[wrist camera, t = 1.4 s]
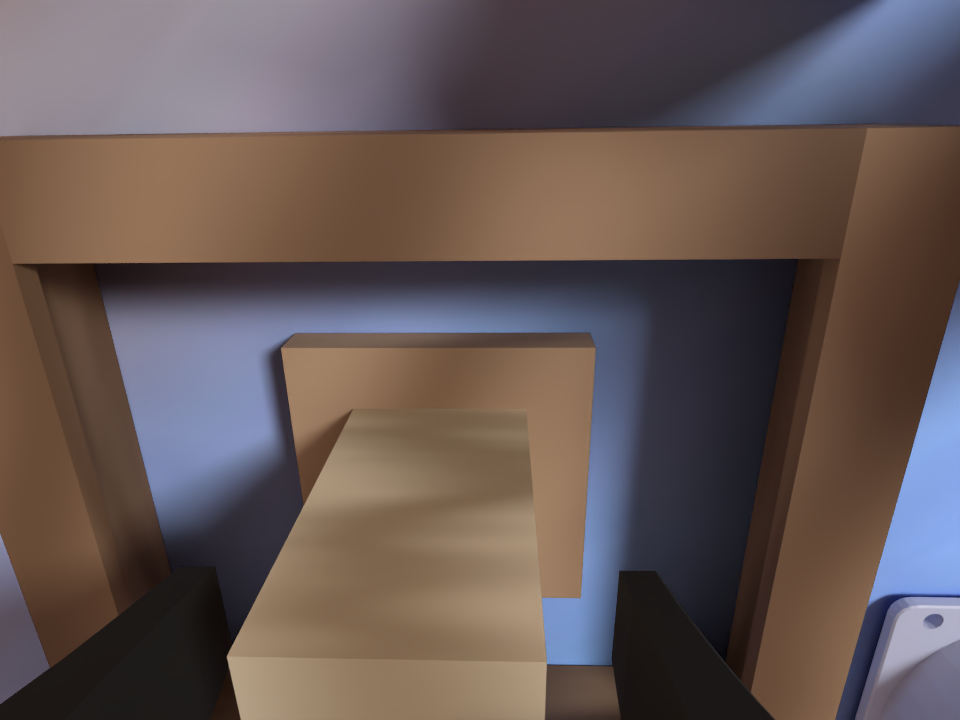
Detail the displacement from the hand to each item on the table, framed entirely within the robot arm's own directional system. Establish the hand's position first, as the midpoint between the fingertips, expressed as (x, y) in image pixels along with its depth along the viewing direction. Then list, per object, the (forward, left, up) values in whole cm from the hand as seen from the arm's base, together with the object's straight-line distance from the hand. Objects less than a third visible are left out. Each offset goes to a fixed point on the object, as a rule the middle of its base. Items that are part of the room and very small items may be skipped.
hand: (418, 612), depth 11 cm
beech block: (0, 0, -4) cm, 4 cm away
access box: (0, 0, -5) cm, 5 cm away
